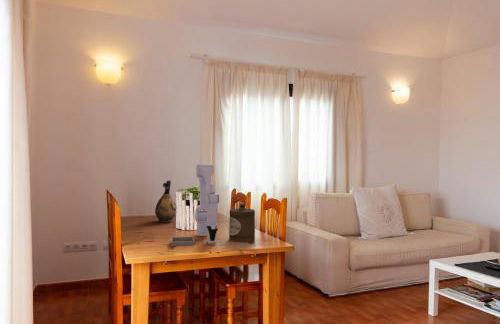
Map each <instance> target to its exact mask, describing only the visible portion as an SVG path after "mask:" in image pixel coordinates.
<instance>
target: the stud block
mask: <svg viewBox="0 0 500 324" xmlns="http://www.w3.org/2000/svg"><path fill="white" fill-rule="evenodd" d="M201 241H202V244H203V246H216V245H218V246H220V245H223V244H222V242H221V241H222V240H220V239H216V243H208V239H202V240H201Z"/></svg>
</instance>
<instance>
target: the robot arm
mask: <svg viewBox="0 0 500 324" xmlns="http://www.w3.org/2000/svg"><path fill="white" fill-rule="evenodd" d="M195 170H196V172H195V174H196V178H197V179H198V180H199V181H198V182H199V206H197V207H196V209H195V212H194V213H195V214H194V219H195V221H196V222H197V233H195V235H196V236H201V237H208V231H209V235H210V241H214V240H215V236H216V237H217V233H218V232H217V231H218V230H219V229H218V228H217V227H218V224H219V223H218V212H219V210H218V207H219V205H218V204H219V203H220V194H219V193H218V192H217V188H216V185H215V183H213V177H212V176H213V175H214V172H215V165H214V164H213V163H197V164H196V167H195Z"/></svg>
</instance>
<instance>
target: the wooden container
mask: <svg viewBox="0 0 500 324" xmlns="http://www.w3.org/2000/svg"><path fill="white" fill-rule="evenodd" d="M255 215H256V211H255V209H253V208H246V204H245V203H244V202H243V203H240V204H239V207H238V208H231V209H229V226H228V227H229V228H228V229H229V230H228V231H229V232H228V234H229V237H228V239H229V241H231V242H236V243H248V244H253V243H255V242H256V241H255V240H256V220H255V219H256V218H255Z"/></svg>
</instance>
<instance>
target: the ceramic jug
mask: <svg viewBox="0 0 500 324" xmlns="http://www.w3.org/2000/svg"><path fill="white" fill-rule="evenodd" d="M171 182H172V181H171V180H167V181H166V182H163V184H162V187H163V188H164V193H163V194H162V196H161V197H160V198H159V200H158V201H157V202H156V205H155V208H154V215H155V217H156V218H157V220H158V223H159V222H160V223H171V222H172V221H173V219H174V218H175V217H176V214H177V211H176V209H177V205H176V201H175V200H174V198H173V197H172V195H171V193H170V189H171V184H172V183H171Z"/></svg>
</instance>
